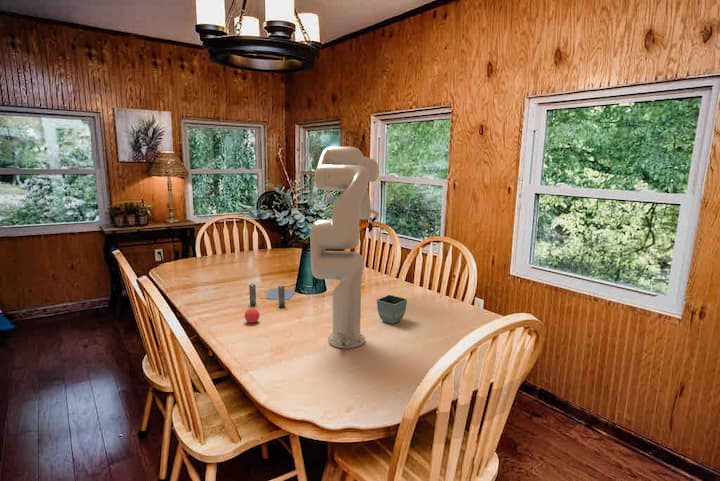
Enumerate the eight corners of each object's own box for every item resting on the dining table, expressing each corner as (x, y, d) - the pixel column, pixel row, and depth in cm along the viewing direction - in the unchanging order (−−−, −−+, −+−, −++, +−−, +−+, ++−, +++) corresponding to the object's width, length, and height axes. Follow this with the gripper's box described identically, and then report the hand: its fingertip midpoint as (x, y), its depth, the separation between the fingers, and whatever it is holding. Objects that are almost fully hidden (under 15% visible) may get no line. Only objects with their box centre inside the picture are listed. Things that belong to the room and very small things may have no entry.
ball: (256, 325, 155) (256, 311, 154) (242, 324, 155) (242, 311, 154) (261, 320, 160) (261, 306, 159) (248, 319, 161) (247, 305, 160)
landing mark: (289, 299, 184) (289, 299, 184) (258, 298, 185) (258, 298, 185) (297, 290, 197) (297, 289, 197) (268, 289, 199) (268, 288, 199)
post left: (255, 306, 175) (254, 286, 173) (249, 306, 175) (248, 286, 173) (257, 304, 177) (256, 284, 176) (251, 304, 177) (250, 284, 176)
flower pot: (388, 315, 167) (389, 294, 165) (407, 320, 161) (407, 299, 159) (375, 321, 160) (376, 299, 158) (394, 327, 154) (394, 304, 153)
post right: (284, 308, 173) (283, 287, 172) (278, 307, 174) (277, 287, 172) (285, 305, 176) (285, 285, 174) (279, 305, 176) (279, 285, 175)
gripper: (337, 192, 174) (337, 232, 177) (378, 193, 172) (378, 233, 175) (340, 191, 181) (340, 229, 184) (379, 192, 179) (379, 230, 183)
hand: (358, 231), depth 180 cm, fingers open, 9 cm apart
